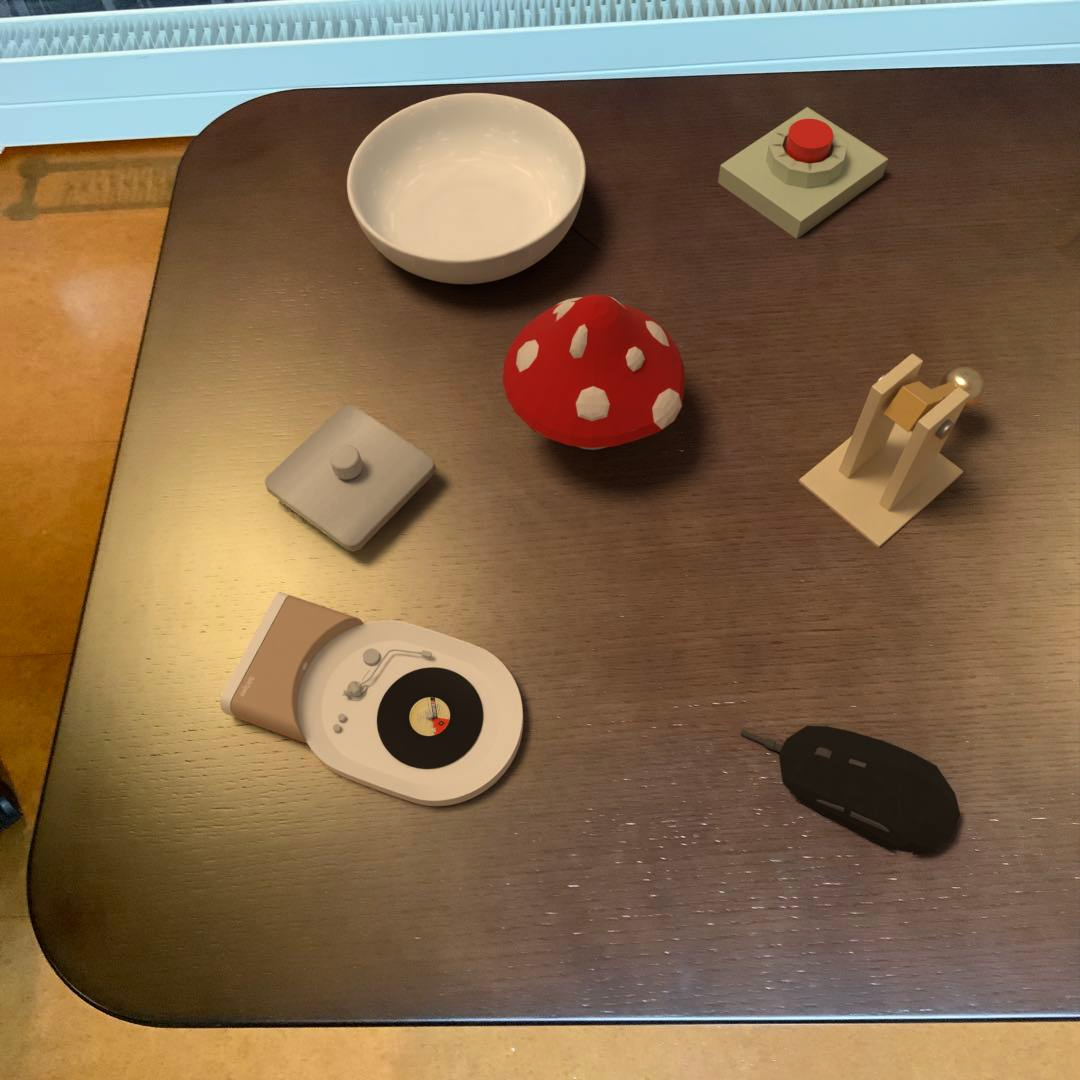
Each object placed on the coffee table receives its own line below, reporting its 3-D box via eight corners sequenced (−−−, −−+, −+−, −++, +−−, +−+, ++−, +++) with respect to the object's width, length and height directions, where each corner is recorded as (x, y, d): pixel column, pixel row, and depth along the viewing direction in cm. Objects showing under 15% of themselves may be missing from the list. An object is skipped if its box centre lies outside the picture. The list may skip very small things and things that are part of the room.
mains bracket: (879, 418, 85) (921, 319, 75) (959, 479, 82) (1014, 385, 72) (796, 487, 82) (827, 394, 72) (875, 554, 79) (920, 466, 69)
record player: (287, 573, 76) (546, 659, 72) (296, 592, 79) (546, 676, 75) (208, 718, 71) (484, 819, 67) (221, 733, 73) (486, 831, 70)
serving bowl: (331, 192, 100) (315, 131, 94) (532, 129, 104) (530, 67, 98) (403, 345, 90) (391, 289, 84) (623, 271, 94) (626, 211, 88)
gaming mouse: (757, 694, 74) (766, 672, 70) (965, 788, 70) (986, 770, 67) (723, 772, 71) (730, 753, 68) (937, 874, 67) (957, 860, 64)
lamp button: (805, 128, 97) (809, 112, 96) (838, 149, 96) (842, 133, 94) (776, 148, 96) (779, 132, 95) (809, 170, 95) (813, 154, 93)
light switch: (358, 567, 80) (346, 534, 75) (268, 501, 83) (251, 465, 79) (443, 480, 83) (435, 444, 79) (353, 420, 87) (341, 382, 82)
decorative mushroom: (502, 366, 89) (490, 234, 76) (664, 354, 89) (679, 220, 76) (512, 507, 82) (501, 388, 69) (687, 494, 82) (709, 372, 69)
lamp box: (803, 125, 103) (811, 90, 100) (882, 177, 99) (893, 142, 96) (717, 183, 99) (722, 148, 96) (796, 239, 95) (805, 205, 92)
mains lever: (941, 389, 83) (965, 355, 81) (974, 413, 81) (999, 380, 79) (874, 413, 74) (899, 377, 72) (910, 441, 73) (937, 404, 71)
